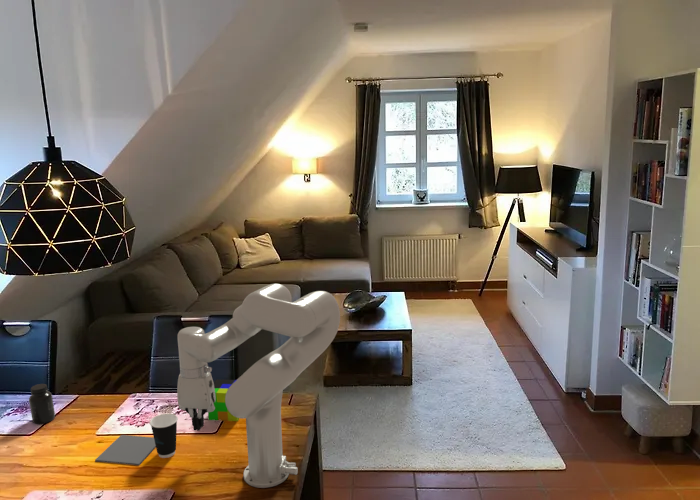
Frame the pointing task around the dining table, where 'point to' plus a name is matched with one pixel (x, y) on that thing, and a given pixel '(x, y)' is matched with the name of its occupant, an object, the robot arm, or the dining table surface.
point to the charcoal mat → (128, 450)
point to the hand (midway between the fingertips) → (198, 428)
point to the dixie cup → (165, 434)
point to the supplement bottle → (41, 404)
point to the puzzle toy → (221, 402)
